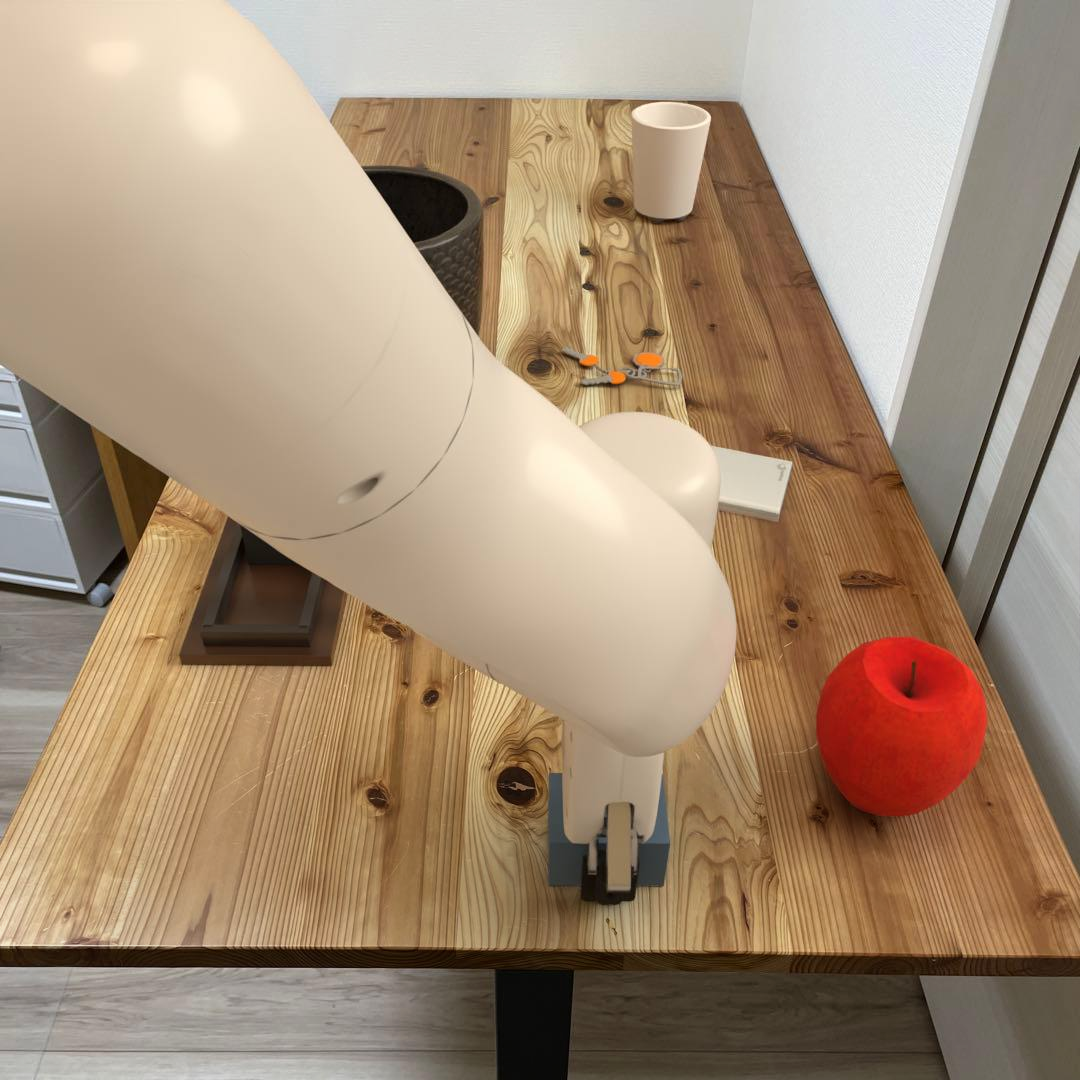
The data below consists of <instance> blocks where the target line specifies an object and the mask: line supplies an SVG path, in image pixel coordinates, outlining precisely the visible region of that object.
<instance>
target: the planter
mask: <svg viewBox="0 0 1080 1080" xmlns="http://www.w3.org/2000/svg"><path fill="white" fill-rule="evenodd" d="M360 166H361V168H362V169H363V170H364V172H365V173H366V175H367V176H368V178H369V179H370V180H371V182H372V183H373V185H374V186H375V188H376V189H377V190H378V192H379V193H380V195H381V196H382V198H383V199H384V201H385V202H386V203H387V205H388V206H389V208H390V209H391V211H392V213H393V214H394V216H395V217H396V219H397V220H398V222H399V223H400V224H401V226H402V227H403V229H404V230H405V232H406V233H407V235H408V236H409V238H410V239H411V241H412V242H413V243H414V245H415V246H416V248H417V249H418V251H419V252H420V254H421V255H422V257H423V258H424V259H425V261H426V262H427V264H428V265H429V267H430V268H431V270H432V271H433V273H434V274H435V276H436V277H437V278H438V280H439V281H440V283H441V284H442V286H443V287H444V289H445V290H446V292H447V293H448V294H449V296H450V297H451V298H452V299H453V301H454V302H455V303H456V305H457V306H458V308H459V309H460V311H461V312H462V314H463V315H464V317H465V318H466V320H467V321H468V323H469V324H470V325H471V327H472V328H473V330H474V331H475V333H476V334H477V335H478V337H479V336H480V330H481V323H482V314H483V295H484V293H483V292H484V266H485V265H484V263H485V262H484V261H485V260H484V256H485V248H484V247H485V246H484V244H485V243H484V225H485V223H484V210H483V206H482V201H481V199H480V197H479V196H478V194H477V192H475V191H474V190H473V188H471V187H470V186H469V185H467V184H466V183H464V182H463V181H461V180H459V179H457V178H456V177H453V176H451V175H447V174H444V173H441V172H439V171H434V170H430V169H425V168H419V167H413V166H403V165H387V164H386V165H383V164H376V165H360Z"/></svg>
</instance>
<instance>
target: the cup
mask: <svg viewBox="0 0 1080 1080" xmlns="http://www.w3.org/2000/svg"><path fill="white" fill-rule="evenodd" d="M630 115H631V116H630V117H631V118H630V119H631V120H630V121H631V150H632V151H631V153H632V187H633V188H632V189H633V208H634V212H635V215H636V216H638V217H642V218H643V217H646V218H648V219H649V220H650V221H651V222H652V223H653V224H662V223H664V222H665V221H667V220H672V221H674V222H677V223H681V222H684V221H685V220H686V219H687V217H688V216H689V215H690V214H691V212H692V211H693V208H694V204H695V199H696V194H697V189H698V184H699V180H700V174H701V170H702V164H703V160H704V155H705V150H706V146H707V140H708V135H709V131H710V126H711V122H712V116H711V114H710V113H709V112H708V111H707V110H705V109H704V108H702V107H700V106H698V105H694V104H689V103H684V102H676V101H675V102H674V101H658V102H657V101H656V102H655V101H654V102H649V103H645V104H642V105H640V106H637V107H636V108H634V109H633V110H632V111H631V114H630Z"/></svg>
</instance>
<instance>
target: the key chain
mask: <svg viewBox="0 0 1080 1080" xmlns="http://www.w3.org/2000/svg"><path fill="white" fill-rule="evenodd" d="M560 352H562V353H564V354H567V355H569V356H571V357H574V358H576V359H578V360H579V361H578V363H579V364H580V365H582V366H585V367H594V368H595V369H597V370H598V371H599V372H601V373H603V374H605V376H604V375H603V376H598V377H590V378H582V379H580V384H581V385H583V386H584V385H585V386H588V385H599V384H608V383H610V384H611V385H619V384H622V383H624V382H625V381H626V380H629V379H631V380H635V381H636V380H638V381H639V380H640V381H644V382H648V383H649V382H650V383H655V384H658V385H665V386H671V387H678V386H680V384H681V383H682V381H683V374H682V371H681V369H679V367H673V366H672V367H663V366H664V365H665V358H664V357H663V355H661V354H659V353H657V352H652V351H643V352H639V353H637V354H635V355H634V356H633V364H634V365H635V366H636V367H637V368H638V369H634V368H633V367H630V366H623V367H620V368H618V370H617V371H614V370H613V371H609V370H606V369H603V368H602V367H600V366H599V365H598V364H599V362H600V360H599V357H597V356H596V355H594V354H586V353H581V352H580V350H575V349H571V348H570V347H566V346H565V347H562V348H561V350H560ZM653 370H669V371H670V370H671V371H672V372H673V371H674V372H676V373H677V376H678V378H677V381H676V382H672V381H667V380H659V379H655V378H650V377H648V374H647V373H651V371H653ZM622 371H624V372H622ZM636 374H637V375H636Z"/></svg>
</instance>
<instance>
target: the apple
mask: <svg viewBox="0 0 1080 1080" xmlns="http://www.w3.org/2000/svg"><path fill="white" fill-rule="evenodd" d="M986 702H987V701H986V697H985V694H984V692H983V688H982V686H981V684H980V682H979V681H978V679H977V677H976V675H975V674H974V672H973V671H972V669H971V668H970V667H969V666H968V665H966V663H964V662H963V661H962V660H961V659H959V658H958V657H957V656H956V655H954V653H952V652H951V651H950V650H948V649H946V648H943V647H941V646H938V645H935V644H933V643H931V642H928V641H925V640H923V639H920V638H917V637H915V636H886V637H881V638H878V639H875V640H870V641H867V642H863V643H861V644H860V645H858V646H857V647H856V648H854V649H853V650H851V651H849V652H848V653H847V654H846V655H845V656H844V657H843V658H842V659H841V660H840V662H839V663H838V664H837V665H836V667H835V668H834V669H833V670H832V671H831V672H830V673H829V674H828V676H827V677H826V680H825V681H824V684H823V686H822V688H821V691H820V696H819V701H818V706H817V709H816V714H815V734H816V740H817V744H818V748H819V753H820V757H821V760H822V763H823V765H824V768H825V770H826V773H828V775H829V777H830V779H831V780H832V782H833V783H834V784H835V786H836V788H837V789H838V790H839V792H840V793H841V795H842V796H844V797H845V799H846V800H847V801H848V802H849V803H850V804H851V805H852V806H853V807H856V808H857V809H858V810H861V811H862V812H865V813H869V814H871V815H874V816H877V817H878V816H879V817H894V818H901V817H907V816H911V815H916V814H920V813H921V812H923V811H925V810H927V809H930V808H931V807H933V806H936V805H937V804H939V803H941V802H942V801H944V800H945V799H946V798H948V797H949V796H950V795H951V794H952V793H953V792H954V791H956V789H958V788H959V787H960V785H962V783H963V782H964V781H965V780H966V778H967V777H968V776H969V775H970V774H971V772H972V770H973V769H974V768H975V765H976V764H977V763H978V761H979V760H980V758H981V754H982V751H983V746H984V741H985V735H986V732H987V726H988V721H989V720H988V712H987V703H986Z"/></svg>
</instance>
